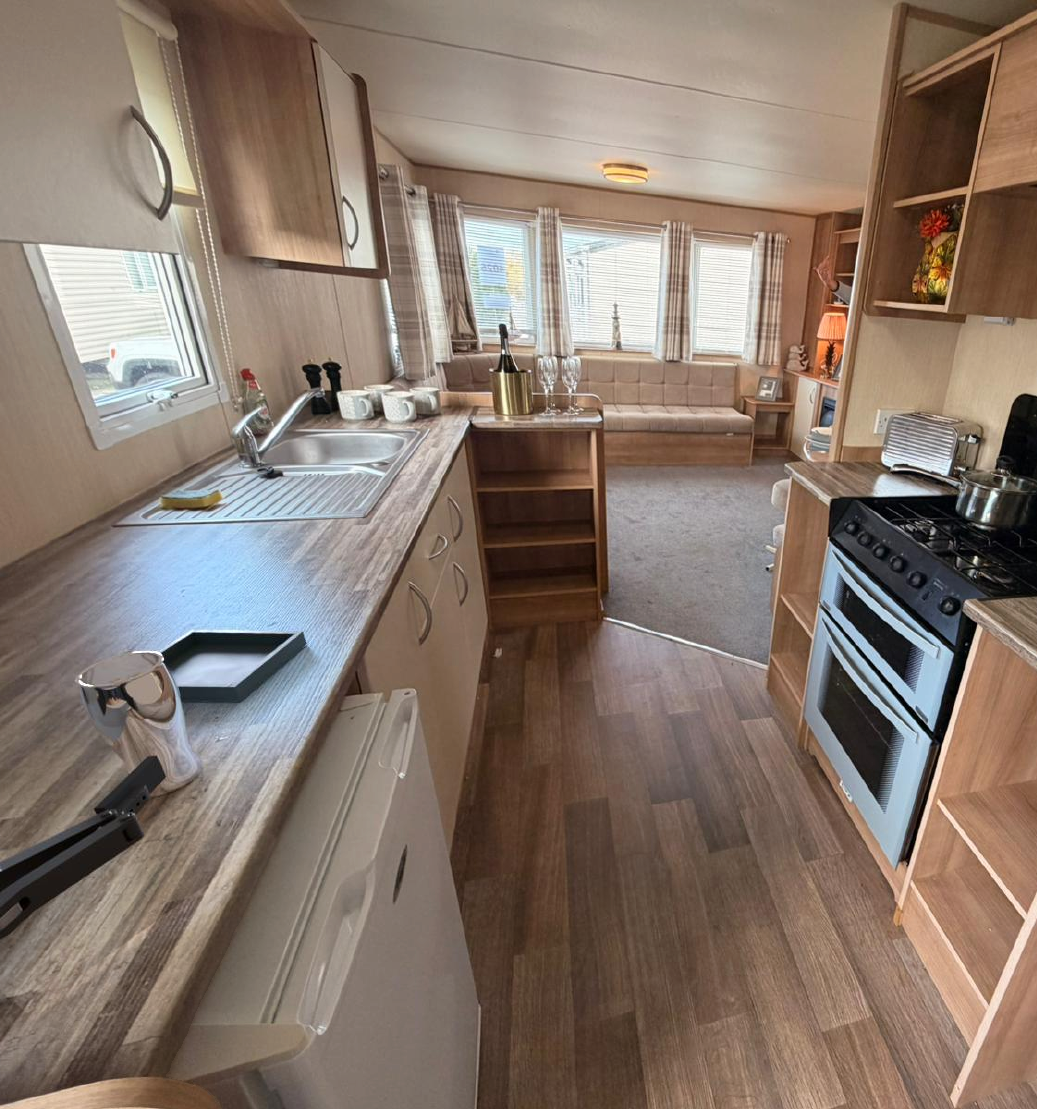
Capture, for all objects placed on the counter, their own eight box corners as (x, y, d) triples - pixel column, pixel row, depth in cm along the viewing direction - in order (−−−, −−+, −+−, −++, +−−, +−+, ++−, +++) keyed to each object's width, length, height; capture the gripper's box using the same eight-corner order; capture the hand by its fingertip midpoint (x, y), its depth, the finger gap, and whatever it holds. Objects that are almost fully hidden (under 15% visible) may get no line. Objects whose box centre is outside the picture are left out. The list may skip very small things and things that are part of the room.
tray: (110, 701, 79) (102, 685, 78) (197, 643, 92) (191, 629, 91) (240, 702, 80) (234, 687, 79) (307, 645, 93) (303, 631, 92)
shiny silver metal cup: (111, 789, 65) (56, 677, 59) (185, 749, 71) (141, 644, 65) (149, 809, 63) (95, 695, 57) (222, 766, 69) (180, 659, 63)
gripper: (-437, 1094, 36) (-70, 818, 55) (54, 1020, 41) (235, 789, 60) (-535, 1020, 33) (-112, 755, 52) (6, 949, 38) (212, 730, 57)
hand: (74, 773), depth 56 cm, fingers open, 13 cm apart
